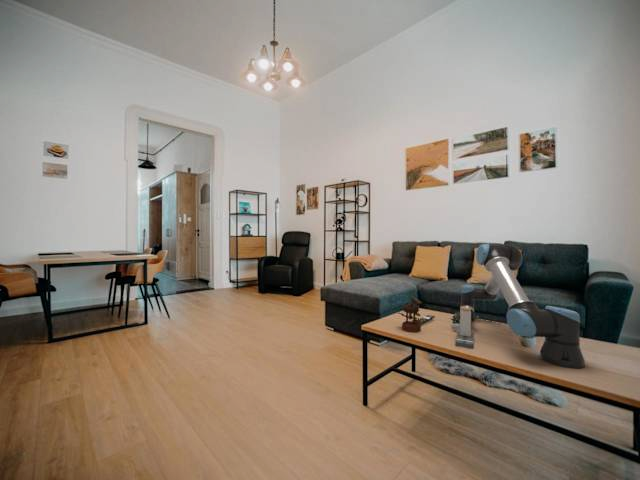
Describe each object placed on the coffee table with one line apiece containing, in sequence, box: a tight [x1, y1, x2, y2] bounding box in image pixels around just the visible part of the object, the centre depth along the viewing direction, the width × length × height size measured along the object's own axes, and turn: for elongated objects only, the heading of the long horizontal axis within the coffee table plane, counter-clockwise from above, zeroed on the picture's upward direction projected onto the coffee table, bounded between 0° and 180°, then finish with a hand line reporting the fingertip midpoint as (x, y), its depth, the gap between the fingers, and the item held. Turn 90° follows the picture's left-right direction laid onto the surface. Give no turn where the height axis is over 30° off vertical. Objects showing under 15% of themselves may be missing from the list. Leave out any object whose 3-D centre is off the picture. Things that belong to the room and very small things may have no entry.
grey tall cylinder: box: [459, 305, 472, 337], centre depth 152 cm, size 5×5×15 cm
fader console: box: [454, 331, 475, 350], centre depth 148 cm, size 18×8×2 cm, turn 151°
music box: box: [397, 295, 423, 334], centre depth 167 cm, size 15×11×20 cm
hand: (465, 321), depth 156 cm, fingers closed
